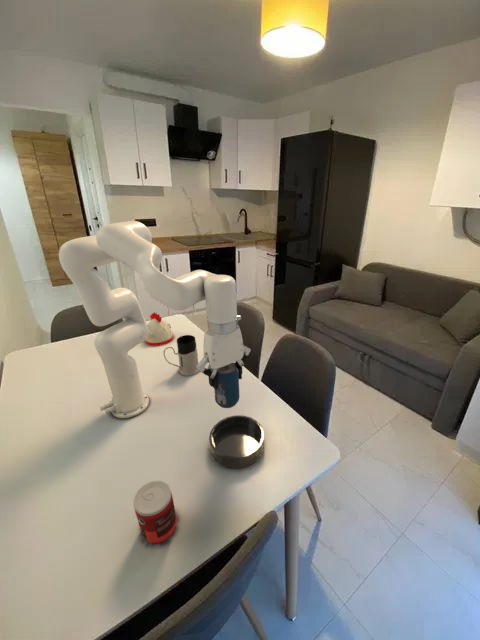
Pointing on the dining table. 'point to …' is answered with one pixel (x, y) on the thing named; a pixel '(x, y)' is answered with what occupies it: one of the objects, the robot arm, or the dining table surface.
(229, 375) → the soda can
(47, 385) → the dining table surface
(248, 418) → the bowl
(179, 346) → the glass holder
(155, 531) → the canned food
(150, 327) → the kitchen timer
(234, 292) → the robot arm
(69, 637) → the dining table surface
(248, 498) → the dining table surface
